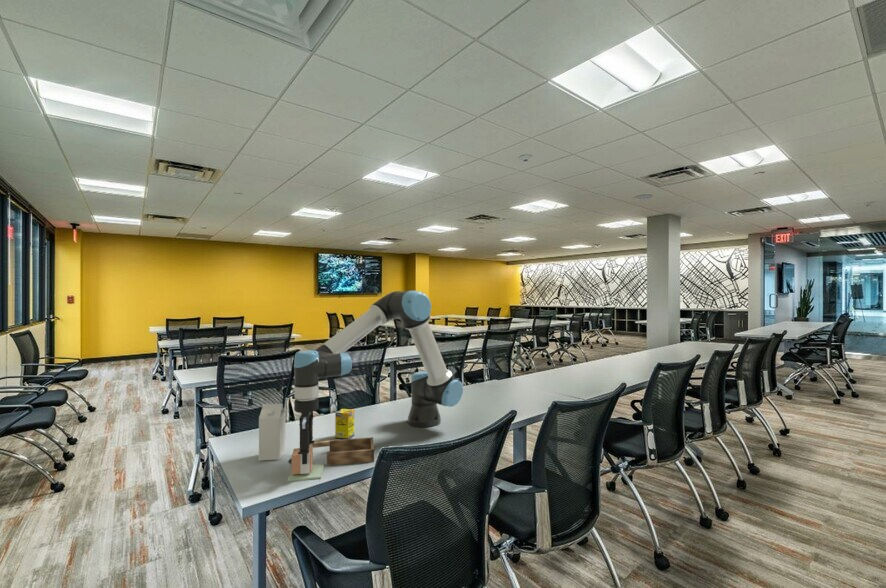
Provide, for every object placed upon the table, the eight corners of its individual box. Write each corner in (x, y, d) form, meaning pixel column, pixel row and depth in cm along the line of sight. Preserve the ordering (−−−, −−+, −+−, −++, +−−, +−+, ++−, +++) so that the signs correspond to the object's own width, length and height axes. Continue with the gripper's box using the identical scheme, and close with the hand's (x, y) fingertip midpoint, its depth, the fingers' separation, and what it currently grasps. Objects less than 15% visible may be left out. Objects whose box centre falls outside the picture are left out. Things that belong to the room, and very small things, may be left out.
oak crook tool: (338, 443, 160) (338, 439, 160) (340, 448, 154) (340, 444, 154) (301, 447, 155) (301, 443, 155) (301, 453, 149) (301, 449, 149)
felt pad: (323, 465, 139) (323, 463, 139) (320, 478, 129) (320, 476, 129) (293, 468, 137) (293, 466, 137) (287, 481, 127) (287, 479, 127)
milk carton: (265, 453, 150) (265, 402, 150) (285, 452, 150) (285, 401, 150) (258, 461, 143) (258, 407, 143) (279, 460, 143) (279, 406, 143)
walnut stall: (373, 447, 155) (373, 437, 155) (374, 461, 142) (374, 450, 142) (329, 451, 151) (329, 440, 152) (326, 465, 139) (326, 453, 139)
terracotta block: (312, 464, 136) (312, 447, 136) (311, 472, 130) (311, 453, 130) (293, 466, 135) (293, 448, 135) (291, 474, 129) (291, 455, 129)
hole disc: (307, 456, 147) (307, 455, 147) (305, 463, 141) (305, 462, 141) (290, 457, 145) (290, 456, 145) (287, 464, 140) (287, 463, 140)
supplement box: (348, 440, 163) (348, 413, 163) (334, 439, 164) (334, 412, 164) (354, 435, 169) (354, 409, 169) (341, 434, 170) (341, 408, 170)
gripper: (298, 392, 141) (298, 458, 141) (289, 406, 123) (289, 482, 123) (321, 391, 143) (321, 456, 143) (315, 405, 124) (315, 480, 124)
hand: (306, 468), depth 133 cm, fingers closed on terracotta block, 6 cm apart
